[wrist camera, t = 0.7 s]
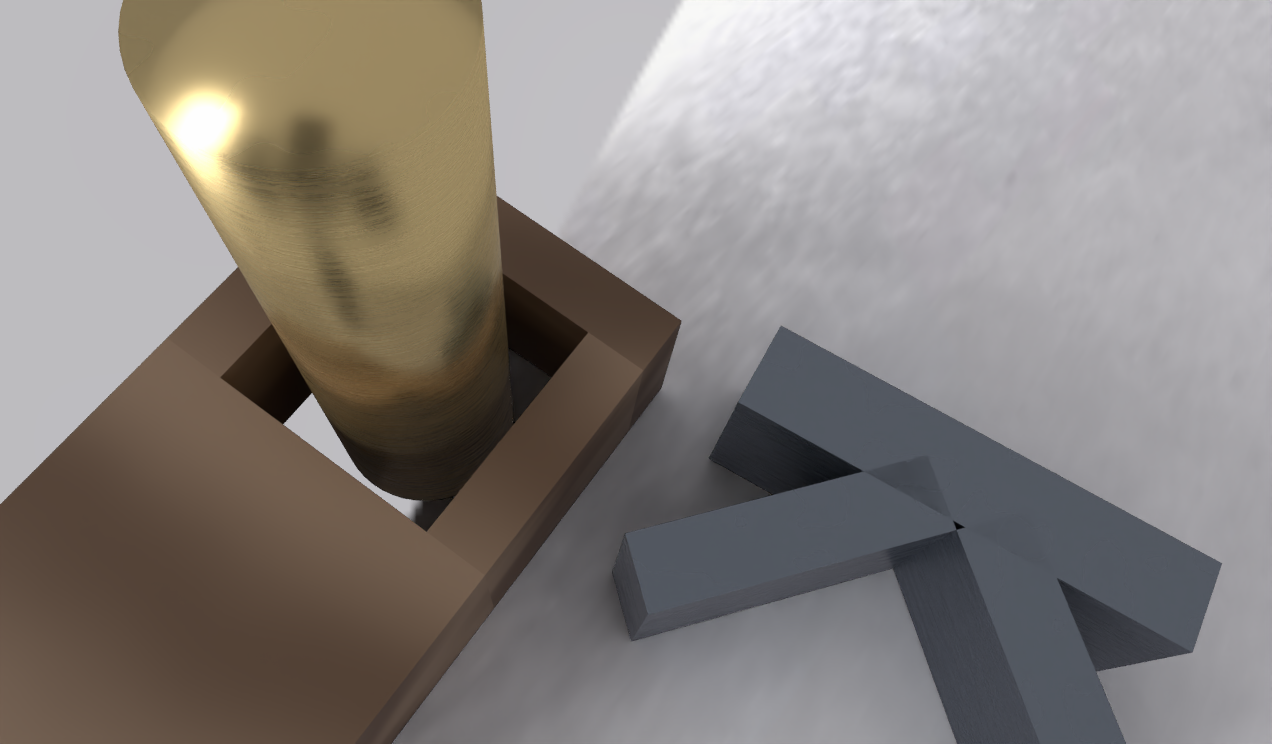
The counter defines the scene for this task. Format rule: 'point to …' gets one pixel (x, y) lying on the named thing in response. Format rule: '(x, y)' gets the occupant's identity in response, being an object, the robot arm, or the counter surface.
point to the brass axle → (351, 206)
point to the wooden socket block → (292, 529)
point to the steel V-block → (926, 550)
